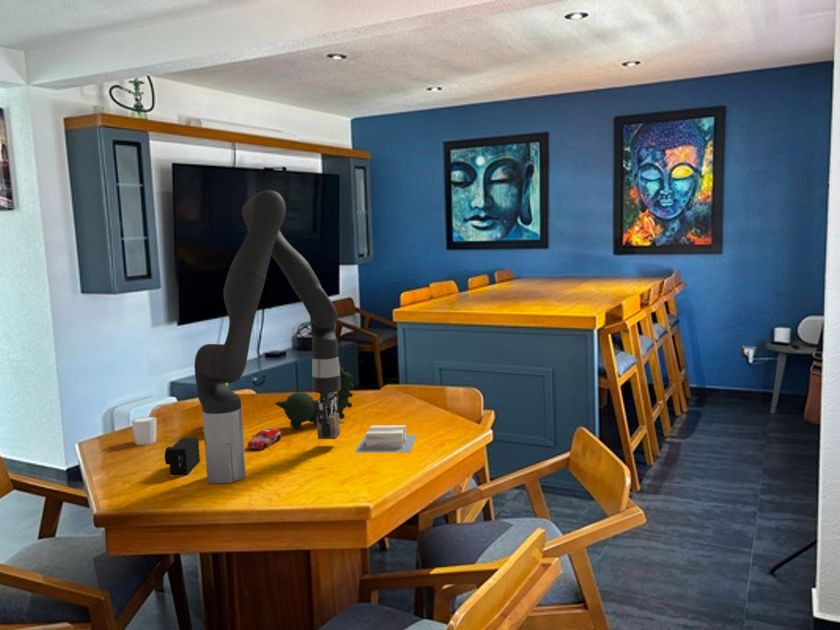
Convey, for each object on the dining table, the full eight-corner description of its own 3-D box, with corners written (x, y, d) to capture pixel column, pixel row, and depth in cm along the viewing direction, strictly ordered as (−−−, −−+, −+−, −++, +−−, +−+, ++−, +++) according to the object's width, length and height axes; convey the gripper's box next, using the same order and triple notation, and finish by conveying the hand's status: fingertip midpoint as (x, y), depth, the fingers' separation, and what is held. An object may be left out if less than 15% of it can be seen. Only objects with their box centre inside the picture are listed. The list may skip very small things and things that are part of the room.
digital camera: (179, 463, 185) (177, 437, 184) (200, 462, 185) (198, 436, 184) (165, 476, 175) (163, 449, 174) (187, 475, 174) (185, 448, 174)
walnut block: (335, 439, 189) (334, 417, 189) (317, 439, 190) (316, 417, 189) (340, 434, 194) (339, 413, 194) (322, 434, 195) (321, 413, 194)
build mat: (410, 454, 185) (410, 452, 185) (354, 454, 186) (354, 452, 186) (416, 436, 200) (416, 434, 200) (365, 437, 202) (365, 435, 202)
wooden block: (402, 447, 189) (402, 433, 188) (366, 447, 190) (365, 433, 189) (406, 438, 197) (405, 425, 196) (371, 439, 198) (371, 425, 197)
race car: (261, 452, 192) (260, 438, 192) (244, 451, 194) (243, 437, 193) (285, 438, 205) (284, 425, 204) (268, 437, 206) (267, 424, 206)
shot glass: (162, 441, 206) (160, 418, 205) (139, 447, 201) (137, 423, 200) (151, 437, 210) (149, 415, 210) (129, 442, 206) (127, 419, 205)
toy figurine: (343, 420, 228) (269, 426, 215) (345, 363, 227) (271, 366, 214) (355, 427, 220) (279, 433, 207) (357, 367, 219) (281, 370, 206)
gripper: (332, 378, 183) (335, 441, 184) (345, 369, 197) (348, 427, 199) (305, 378, 184) (308, 441, 185) (320, 369, 198) (322, 427, 200)
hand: (329, 434), depth 192 cm, fingers closed on walnut block, 5 cm apart
